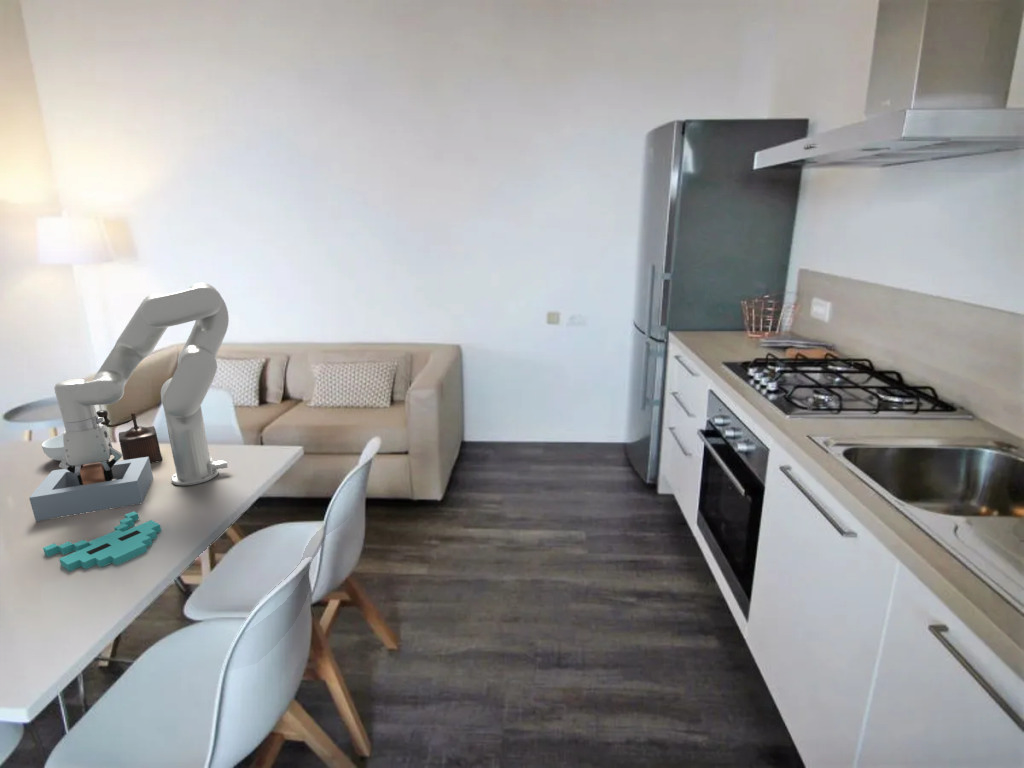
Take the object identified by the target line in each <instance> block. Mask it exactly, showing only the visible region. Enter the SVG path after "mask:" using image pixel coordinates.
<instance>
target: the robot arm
mask: <svg viewBox="0 0 1024 768" xmlns="http://www.w3.org/2000/svg"><path fill="white" fill-rule="evenodd" d="M229 317H230V316H229V311H228V308H227V304H226V302H225V300H224V298H223V297H222V295H221V293H220V292H219V291H218V290H217V288H216V287H214V286H212V285H211V284H209V283H206V282H197V283H196V282H195V283H193V284H192V285H191V286H190V287H189V288H188V289H185V290H181V291H177V292H173V293H172V292H171V293H167V294H164V293H163V294H162V293H158V292H157V293H151V294H149V295H147V296H145V298H144V299H143V300H142V302H141V303H140V304H139V306H138V307H137V309H136V310H135V312H134V313H133V315H132V317H131V319H130V320H129V321H128V323H127V325H126V326H125V327H124V329H123V331H122V332H121V333H120V335H119V337H118V338H117V340H116V341H115V344H114V346H113V348H112V349H111V351H110V353H109V354H108V355H107V357H106V359H105V360H104V362H103V363H102V365H101V367H99V369H98V371H97V372H96V374H95V375H94V378H93V379H92V380H90V381H88V380H86V379H84V378H71V379H67V380H62V381H60V382H59V381H58V382H57V383H56V384H55V386H54V394H55V397H56V401H57V404H58V408H59V411H60V415H61V419H62V422H63V427H64V430H63V432H62V434H63V442H64V451H65V457H64V458H63V460H62V461H61V460H60V463H59V464H58V467H59V468H61V469H67V470H68V471H70V472H72V473H74V474H75V475H76V476H77V477H78V481H79V484H80V485H83V482H82V478H81V475H80V469H81V468H82V467H83V465H85V464H92V463H98V462H100V463H101V464H102V466H103V467H104V470H105V471H104V476H105V480H106V481H112V479H113V473H112V470H111V467H112V466H113V465H114V464H115V463H116V462H117V461H120V459H121V458H123V456H122V452H120V451H118V449H115V447H113V444H112V441H111V439H110V437H109V434H108V432H107V429H106V426H105V425H103V424H101V422H104V421H105V420H104V417H99V416H98V415H97V413H96V412H97V409H96V406H105V405H112V404H113V405H114V404H116V403H118V402H119V401H120V400H121V399H122V398H123V396H124V394H125V387H126V385H127V383H128V381H129V379H130V378H131V376H132V375H133V373H134V372H135V370H136V369H137V367H138V366H139V365H140V363H141V362H142V361H143V360H144V359H146V358H148V357H149V356H151V354H152V353H153V351H154V350H155V348H156V346H157V345H158V343H159V342H160V340H161V338H162V337H163V335H164V334H165V332H166V331H167V329H168V328H169V327H173V326H178V325H182V324H187V323H189V322H194V321H195V322H194V324H193V326H192V329H191V332H190V334H189V335H188V338H187V340H186V342H185V343H184V346H183V347H182V349H181V351H180V353H179V354H178V358H177V368H176V370H175V371H174V373H173V376H172V377H171V378H169V379H167V380H166V381H165V382H164V383H163V384H162V387H161V390H160V401H161V405H162V407H163V411H164V417H165V422H166V427H167V433H168V438H169V443H170V447H171V448H170V449H171V454H172V458H173V464H174V467H175V473H173V475H172V476H171V478H170V480H171V483H172V484H174V485H176V486H182V487H183V486H184V487H185V486H194V485H198V484H203V483H206V482H208V481H210V480H212V479H214V478H215V477H216V476H217V475H218V474H219V469H221V470H222V469H227V468H228V467H229V465H228V462H227V461H224V460H222V459H221V460H217V461H215V460H214V459H213V457H212V456H210V452H209V446H208V445H209V444H208V439H207V435H206V434H207V433H206V427H205V423H204V422H205V421H204V415H203V411H202V404H203V402H204V399H205V398H206V396H207V393H208V392H209V390H210V387H211V386H212V383H213V380H214V379H215V377H216V373H217V372H218V371H217V369H218V363H217V359H216V357H217V356H218V355H217V354H218V352H219V350H220V348H221V345H222V344H223V341H224V339H225V336H226V334H227V331H228V329H229V322H230V321H229V319H230V318H229ZM111 456H113V457H112V458H111ZM110 459H111V460H110Z"/></svg>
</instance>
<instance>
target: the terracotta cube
mask: <svg viewBox="0 0 1024 768" xmlns="http://www.w3.org/2000/svg"><path fill="white" fill-rule="evenodd" d="M104 471H105V470H104V467H103V466H102V464H101V463H100V462H98V463H92V464H85V465H83V467H82V468H81V469H80V475H81V478H82V482H83V485H87V484H93V483H100V482H106V480H105V476H104Z"/></svg>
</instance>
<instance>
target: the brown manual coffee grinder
mask: <svg viewBox="0 0 1024 768" xmlns="http://www.w3.org/2000/svg"><path fill="white" fill-rule="evenodd" d="M96 413H97V415H98V416H99V417H104V420H105V421H104V422H101V423H100V424H103V425H104V427H107V428H115V427H118V426H122V425H125V424H128V423H130V422H132V423H133V426H132V427H130V428H129V429H127V430H125V431H121V432H118V442H119V446H120V450H121V454H122V460H129V459H136V458H143V457H149V460H150V463H151V464H153V463H152V462H155V463H157V462H156V461H159V462H162V461H163V456H162V452H161V449H160V448H161V447H160V444H159V439H158V435H157V430H156V428H155V426H154V425H153V426H140V425H139V426H138V422H137V419H138V418H137V416H136V412H131V413H130V417H131V418H129V419H127V420H124V421H121V422H117V423H114V424H113V423H112V424H110V423H111V420H110V419H109V418H108V417H109V412H108V411H107V410H105V409H100V410H98V411H97V410H96ZM161 460H162V461H161Z"/></svg>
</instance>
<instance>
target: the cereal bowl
mask: <svg viewBox="0 0 1024 768" xmlns="http://www.w3.org/2000/svg"><path fill="white" fill-rule="evenodd" d="M41 449H42V451H43V453H44V454H45V455H46V457H48V458H49V459H51V460H55V461H60V462H61V461H62V460H63V458H64V457H65V451H64V442H63V433H61V434H59V435H55V436H53V437H50V438H48V439H46V440H44V441H43V442H42V444H41Z"/></svg>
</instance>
